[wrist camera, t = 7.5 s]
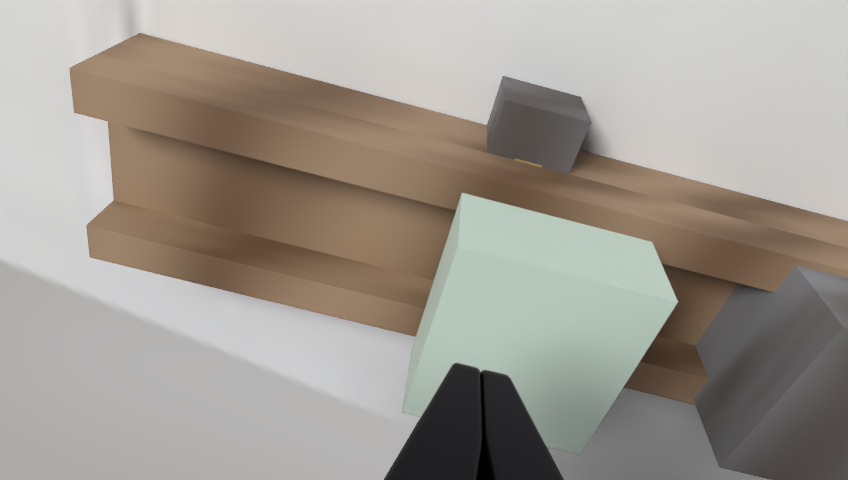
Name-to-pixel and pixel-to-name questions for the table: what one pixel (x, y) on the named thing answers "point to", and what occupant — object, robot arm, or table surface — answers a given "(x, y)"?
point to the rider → (540, 314)
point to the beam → (432, 218)
